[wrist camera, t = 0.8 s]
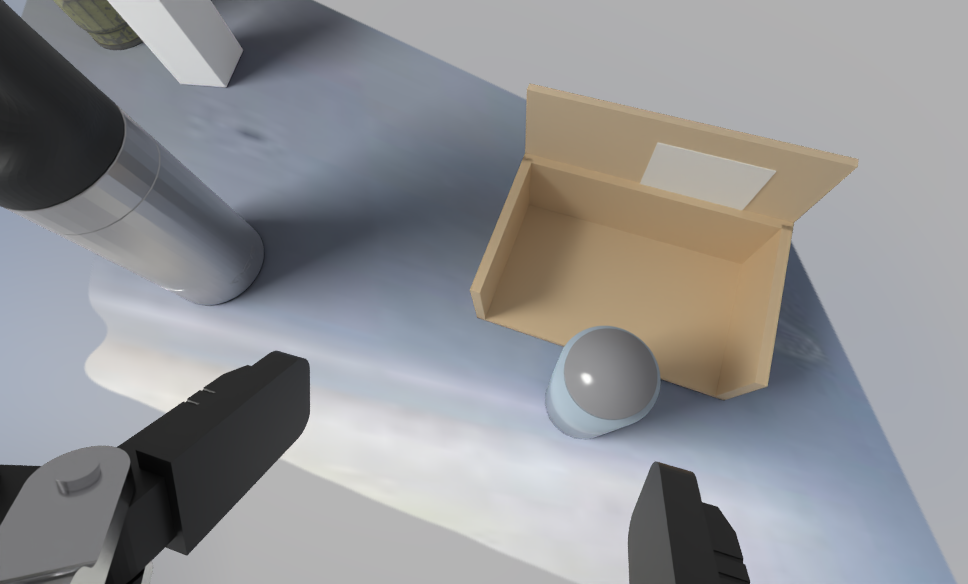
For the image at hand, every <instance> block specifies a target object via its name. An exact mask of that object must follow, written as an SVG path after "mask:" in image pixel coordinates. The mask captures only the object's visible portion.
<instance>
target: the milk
mask: <svg viewBox="0 0 968 584" xmlns="http://www.w3.org/2000/svg"><path fill="white" fill-rule="evenodd" d="M107 1H108V2H109V3H110V4H111V5H112V6H113V8H114V9H115V10H116V11H117V12H118V13H119V14H120V15H121V17H122V18H123V19H124V20H125V21H126V22H127V23H128V25H129V26H130V27H131V28H132V29H133V30H134V31H135V33H136V34H137V35H138V36H139V37H140V38H141V39H142V41H143V42H144V43H145V44H146V45H147V46H148V47H149V48H150V50H151V51H152V52H153V53H154V54H155V55H156V56H157V58H158V59H159V60H160V61H161V62H162V63H163V64H164V66H165V67H166V68H167V69H168V70H169V71H170V72H171V74H172V75H173V76H174V77H175V78H176V79H177V80H178V81H179V83H180V84H186V85H199V86H213V87H227V85H228V83H229V81H230V78H231V76H232V74H233V72H234V70H235V67H236V65H237V63H238V61H239V58H240V56H241V54H242V52H243V49H242V47H241V46H240V44H239V43H238V41H237V40H236V38H235V37H234V35H233V34H232V32H231V31H230V29H229V28H228V26H227V25H226V23H225V21H224V20H223V18H222V17H221V15H220V14H219V12H218V11H217V9H216V8H215V6H214V5H213V3H212V2H211V0H107Z"/></svg>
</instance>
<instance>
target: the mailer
mask: <svg viewBox="0 0 968 584" xmlns="http://www.w3.org/2000/svg"><path fill="white" fill-rule="evenodd" d="M857 167H858V159H856V158H851V157H847V156H843V155H838V154H834V153H830V152H825V151H821V150H817V149H812V148H807V147H804V146H799V145H795V144H790V143H786V142H781V141H777V140H773V139H769V138H764V137H760V136H756V135H751V134H747V133H743V132H738V131H733V130H729V129H725V128H721V127H716V126H712V125H708V124H704V123H699V122H694V121H690V120H685V119H682V118H678V117H673V116H669V115H664V114H660V113H655V112H651V111H647V110H643V109H638V108H634V107H629V106H625V105H621V104H617V103H612V102H608V101H604V100H599V99H595V98H591V97H586V96H582V95H578V94H573V93H569V92H564V91H560V90H556V89H552V88H547V87H543V86H538V85H534V84H529V86H528V89H527V107H526V144H525V155H524V157H523V160H522V162H521V165H520V167H519V170H518V172H517V175H516V177H515V180H514V182H513V184H512V187H511V189H510V192H509V194H508V197H507V199H506V202H505V204H504V207H503V209H502V212H501V214H500V217H499V219H498V222H497V224H496V226H495V229H494V231H493V234H492V236H491V239H490V241H489V244H488V246H487V249H486V251H485V254H484V256H483V259H482V261H481V264H480V266H479V269H478V271H477V273H476V276H475V278H474V281H473V283H472V286H471V288H470V292H471V296H472V299H473V303H474V307H475V311H476V315H477V318H480V319H483V320H486V321H489V322H492V323H495V324H498V325H501V326H504V327H507V328H510V329H513V330H516V331H519V332H522V333H525V334H528V335H531V336H534V337H536V338H539V339H542V340H545V341H548V342H551V343H554V344H557V345H560V346H563V347H564V346H565V345H566V344H567V342H568V341H569V340H570V339H571V338H572V337H574V336H575V335H576V334H578V333H579V332H581V331H583V330H585V329H588V328H591V327H595V326H613V327H618V328H621V329H624V330H627V331H629V332H631V333H632V334H634V335H636V336H637V337H638V338H640V339H641V340H642V341H643V342H644V343H645V344H646V345H647V346H648V347H649V349H650V350H651V351H652V353H653V355H654V357H655V358H656V361H657V363H658V366H659V370H660V378H661V379H662V380H665V381H668V382H670V383H673V384H676V385H679V386H682V387H685V388H688V389H691V390H694V391H697V392H700V393H703V394H706V395H709V396H712V397H715V398H718V399H721V400H726V399H730V398H733V397H736V396H739V395H742V394H745V393H748V392H752V391H755V390H758V389H761V388H764V387H767V386H768V380H769V374H770V368H771V362H772V356H773V349H774V343H775V337H776V331H777V325H778V318H779V312H780V306H781V300H782V294H783V288H784V281H785V275H786V269H787V263H788V257H789V250H790V244H791V237H792V231H793V226H794V222H795V221H796V220H798V219H799V218H800V217H801V216H802V215H803V214H804V213H806V212H807V211H808V210H809V209H810V208H811V207H812V206H814V205H815V204H816V203H817V202H818V201H819V200H820V199H822V198H823V197H824V196H825V195H826V194H827V193H828V192H830V191H831V190H832V189H833V188H834V187H835V186H836V185H838V184H839V183H840V182H841V181H842V180H843V179H844V178H845V177H847V176H848V175H849V174H850V173H851V172H852V171H853V170H855V168H857Z"/></svg>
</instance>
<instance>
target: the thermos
mask: <svg viewBox="0 0 968 584" xmlns="http://www.w3.org/2000/svg"><path fill="white" fill-rule="evenodd" d="M54 2H55V3H56V4H57V5H58V6H59V7H60V8H61V9H62V10H63V11H64V12H65V13H66V14H67V15H68V16H69V17H70V18H71V19H72V20H73V21H74V22H75V23H76V24H77V25H78V26H79V27H81V28H82V29H84V30H86V31H87V32H88V33H89V34H90V35H91V36H92V37H93V39H94V40H95V41H96V42H97V43H98V44H99V45H100V46H102V47H103V48H106V49H111V50H122V49H127V48H130V47H134V46H136V45H138V44H140V43H142V42H143V41H142V39H141V38H140V37H139V36H138V35H137V34H136V33H135V31H134V30H133V29H132V28H131V27H130V26H129V25H128V23H127V22H126V21H125V20H124V19H123V18H122V17H121V15H120V14H119V13H118V12H117V11H116V10H115V9H114V8H113V6H112V5H111V4H110V3H109V2H108V1H107V0H54Z"/></svg>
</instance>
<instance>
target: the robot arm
mask: <svg viewBox="0 0 968 584" xmlns="http://www.w3.org/2000/svg"><path fill="white" fill-rule="evenodd" d="M0 206H1V207H4V208H6V209H8V210H10V211H12V212H14V213H16V214H18V215H20V216H21V217H24V218H25V219H27V220H29V221H31V222H33V223H35V224H37V225H39V226H41V227H43V228H45V229H47V230H49V231H52V232H54V233H56V234H58V235H60V236H62V237H64V238H66V239H68V240H70V241H71V242H73V243H75V244H78V245H79V246H81V247H83V248H85V249H87V250H89V251H91V252H93V253H95V254H97V255H99V256H101V257H103V258H105V259H107V260H109V261H111V262H113V263H115V264H117V265H119V266H121V267H123V268H125V269H127V270H129V271H131V272H133V273H135V274H137V275H139V276H141V277H142V278H144V279H146V280H148V281H150V282H152V283H154V284H156V285H158V286H160V287H162V288H164V289H166V290H168V291H170V292H172V293H174V294H176V295H178V296H180V297H182V298H184V299H186V300H188V301H190V302H193V303H195V304H200V305H216V304H219V303H223V302H226V301H228V300H230V299H233V298H235V297H236V296H238V295H239V294H241V293H242V292H243V291H245V290H246V289H247V288H248V287H249V286H250V285H251V284H252V282H253V281H254V279H255V278H256V277H257V275H258V273H259V271H260V269H261V267H262V263H263V258H264V247H263V243H262V240H261V238H260V236H259V234H258V233H257V232H256V231H255V230H254V229H253V228H252V227H251V226H250V225H249V224H248V223H247V222H246V221H245V220H244V219H243V218H241V217H240V216H239V215H238V214H237V213H236V212H235V211H234V210H233V209H232V208H231V207H230V206H228V205H227V204H226V203H225V202H224V201H223V200H222V199H221V198H220V197H218V196H217V195H216V194H215V193H214V192H213V191H212V190H211V189H210V188H208V187H207V186H206V185H205V184H204V183H203V182H202V181H201V180H200V179H199V178H197V177H196V176H195V175H194V174H193V173H192V172H191V171H190V170H189V169H187V168H186V167H185V166H184V165H183V164H182V163H181V162H180V161H179V160H177V159H176V158H175V157H174V156H173V155H172V154H171V153H170V152H169V151H168V150H166V149H165V148H164V147H163V146H162V145H161V144H160V143H159V142H158V141H156V140H155V139H154V138H153V137H152V136H151V135H150V134H148V133H147V132H146V131H145V130H144V129H143V128H142V127H141V126H140V125H138V124H137V123H136V122H135V121H134V120H133V119H132V118H131V117H130V116H128V115H127V114H126V113H125V112H124V111H123V110H122V109H121V108H120V107H118V106H117V105H116V104H115V103H114V102H113V101H112V100H111V99H110V98H109V97H107V96H106V95H105V94H104V93H103V92H102V91H101V90H99V89H98V88H97V87H96V86H95V85H94V84H93V83H92V82H91V81H89V80H88V79H87V78H86V77H85V76H84V75H83V74H82V73H81V72H79V71H78V70H77V69H76V68H75V67H74V66H73V65H72V64H71V63H70V62H69V61H67V60H66V59H65V58H64V57H63V56H62V55H61V54H60V53H59V52H58V51H56V50H55V49H54V48H53V47H52V46H51V45H50V44H49V43H48V42H47V41H46V40H44V39H43V38H42V37H41V36H40V35H39V34H38V33H37V32H36V31H35V30H33V29H32V28H31V27H30V26H29V25H28V24H27V23H26V22H25V21H24V20H23V19H22V18H21V17H20V16H18V15H17V14H16V13H15V12H14V11H13V10H12V9H11V8H10V7H9V6H8V5H7V4H6V3H5V2H4V1H3V0H0ZM309 414H310V367H309V363H308V361H307V360H306V359H304V358H301V357H297V356H294V355H290V354H287V353H283V352H280V351H273V352H271V353H269V354H268V355H266V356H265V357H264V358H262V359H261V360H259V361H258V362H257V363H255V364H254V365H253V366H249V365H246V366H244V367H241V368H238V369H236V370H233V371H230V372H228V373H225V374H223V375H221V376H220V377H218V378H217V379H216V380H214V381H213V382H211V383H210V384H208V385H207V386H205V387H204V389H203V391H198V392H197V393H195V394H194V395H192V396H191V397H189V398H188V399H187V401H186V402H182V403H181V404H179V405H178V406H176V407H175V408H173V409H172V410H170V411H169V412H168V413H166V414H165V415H163V416H162V417H160V418H159V419H158V420H156V421H155V422H153V423H152V424H150V425H149V426H147V427H146V428H144V429H143V430H141V431H140V432H138V433H137V434H136V435H134V436H133V437H131V438H130V439H128V440H127V441H125V442H124V443H123V444H121V445H119V446H118V447H112V446H92V447H86V448H81V449H78V450H74V451H71V452H68V453H66V454H63V455H61V456H59V457H57V458H55V459H53V460H51V461H49V462H47V463H46V464H44V465H43V466H23V465H0V584H150V580H151V575H152V571H153V563H152V560H153V559H154V558H155V557H156V556H157V555H158V554H159V552H161V551H162V550H163V549H164V548H165V547H166V548H169V549H171V550H174V551H177V552H179V553H182V554H184V555H188V554H189V553H190V552H191V551H192V550H193V549H194V548H195V547H196V546H197V544H198V543H199V542H200V541H201V540H202V539H203V538H204V537H205V536H206V535H207V534H208V533H209V532H210V531H211V530H212V529H213V527H214V526H215V525H216V524H217V523H218V522H219V521H220V520H221V519H222V518H223V517H224V516H225V515H226V514H227V513H228V512H229V510H231V509H232V507H233V506H234V505H235V504H236V503H237V502H238V501H239V500H240V499H241V498H242V497H243V496H244V495H245V494H246V493H247V492H248V490H250V488H251V487H252V486H253V485H254V484H255V483H256V482H257V481H258V480H259V479H260V478H261V477H262V476H263V475H264V474H265V472H267V470H268V469H269V468H270V467H271V466H272V465H273V464H274V463H275V462H276V461H277V460H278V459H279V458H280V457H281V456H282V455H283V454H284V453H285V451H286V450H287V449H288V448H289V447H290V446H291V445H292V444H293V443H294V442H295V441H296V440H297V439H298V438H299V436H300V435H301V434H302V432H303V431H304V429H305V427H306V424H307V422H308V419H309ZM628 559H629V584H750V579H749V576H748V573H747V569H746V566H745V564H743V556H742V552H741V549H740V546H739V542H738V539H737V536H736V532H735V531H734V530H733V528H732V527H731V525H730V524H729V522H728V521H727V519H726V518H725V517H724V515H723V514H722V512H721V511H720V509H719V508H718V507H716V506H713V505H710V504H706V503H703V502H702V501H701V496H700V492H699V488H698V483H697V479H696V476H695V474H694V473H693V472H691V471H687V470H684V469H680V468H677V467H673V466H670V465H667V464H663V463H660V462H654V463H653V464H652V466H651V468H650V470H649V473H648V476H647V478H646V481H645V483H644V486H643V488H642V491H641V493H640V496H639V498H638V501H637V503H636V506H635V509H634V511H633V514H632V517H631V521H630V527H629V534H628Z"/></svg>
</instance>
